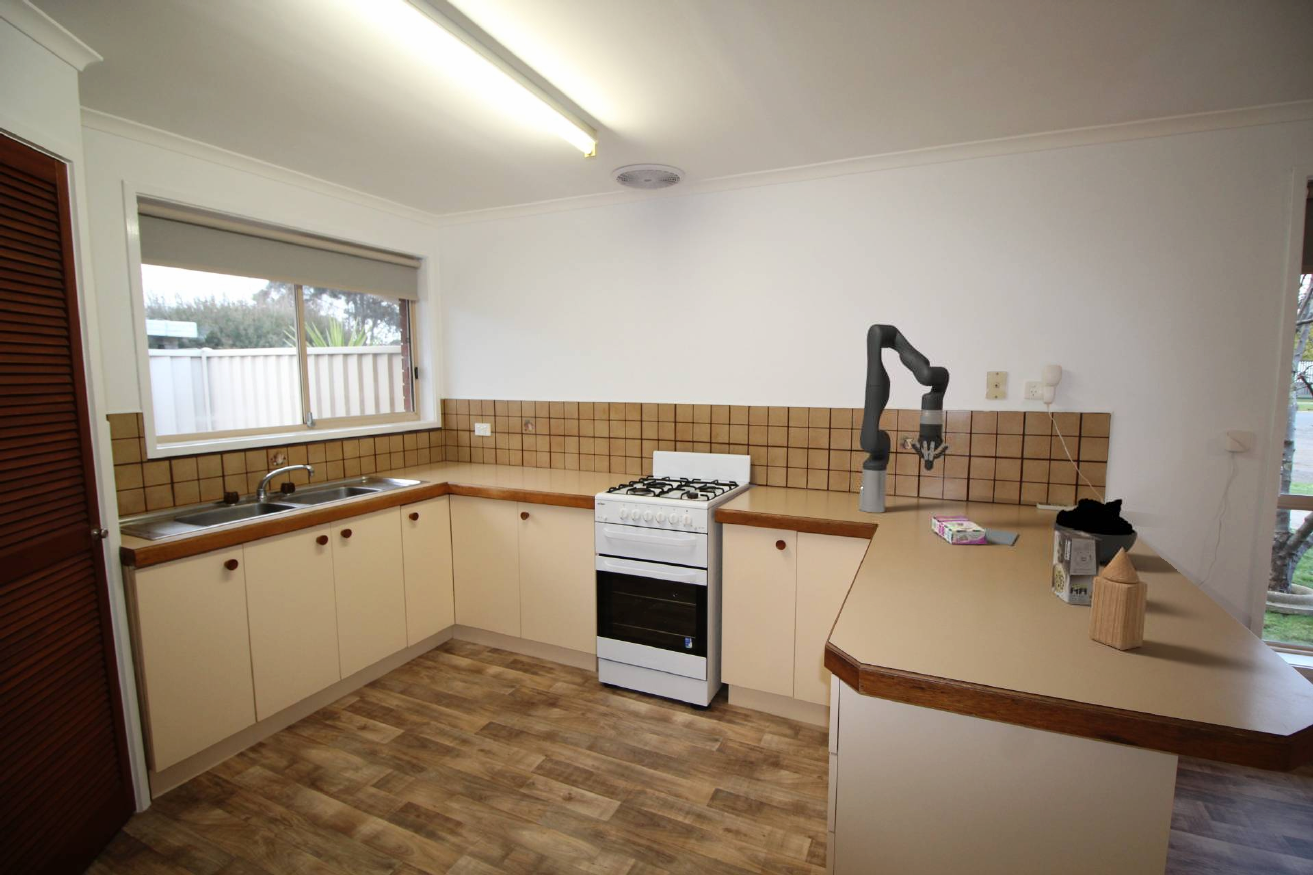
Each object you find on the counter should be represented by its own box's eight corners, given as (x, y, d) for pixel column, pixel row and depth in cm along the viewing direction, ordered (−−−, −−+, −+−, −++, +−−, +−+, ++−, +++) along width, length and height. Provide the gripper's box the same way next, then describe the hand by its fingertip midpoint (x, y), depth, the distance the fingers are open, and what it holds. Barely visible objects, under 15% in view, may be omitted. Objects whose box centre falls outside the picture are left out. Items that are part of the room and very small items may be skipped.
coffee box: (1097, 606, 140) (1102, 539, 138) (1067, 604, 141) (1072, 538, 140) (1078, 592, 149) (1083, 530, 147) (1050, 590, 150) (1054, 528, 149)
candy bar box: (931, 530, 209) (950, 545, 193) (931, 516, 208) (951, 530, 192) (964, 529, 208) (986, 544, 192) (964, 515, 207) (986, 529, 191)
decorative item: (1087, 638, 122) (1094, 543, 120) (1108, 633, 125) (1116, 540, 123) (1122, 652, 116) (1130, 552, 114) (1143, 646, 119) (1152, 549, 117)
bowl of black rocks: (1055, 564, 172) (1060, 500, 171) (1047, 547, 190) (1051, 489, 188) (1142, 574, 163) (1148, 507, 161) (1125, 556, 181) (1130, 495, 179)
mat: (957, 537, 201) (957, 535, 201) (967, 527, 216) (967, 525, 215) (1011, 545, 192) (1011, 543, 192) (1018, 534, 206) (1018, 532, 206)
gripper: (908, 422, 213) (906, 469, 215) (949, 423, 205) (946, 473, 207) (914, 421, 219) (912, 467, 221) (953, 422, 211) (950, 470, 213)
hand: (928, 470), depth 214 cm, fingers closed
